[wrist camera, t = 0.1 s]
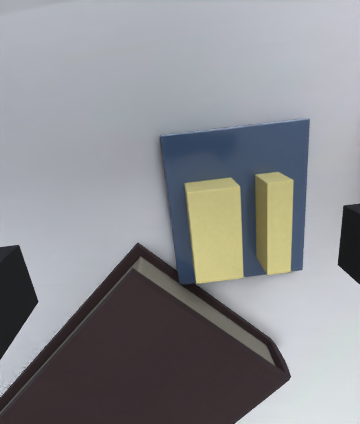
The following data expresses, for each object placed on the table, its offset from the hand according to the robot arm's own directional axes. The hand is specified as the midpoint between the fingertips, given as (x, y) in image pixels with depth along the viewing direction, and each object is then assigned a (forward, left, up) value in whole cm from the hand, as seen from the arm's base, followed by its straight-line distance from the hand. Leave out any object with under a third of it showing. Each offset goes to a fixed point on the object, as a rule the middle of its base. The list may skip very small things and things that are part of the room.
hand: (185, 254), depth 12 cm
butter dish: (+3, +5, -14) cm, 15 cm away
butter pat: (+4, +8, -13) cm, 15 cm away
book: (+22, -8, -14) cm, 28 cm away
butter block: (+4, +3, -13) cm, 14 cm away
